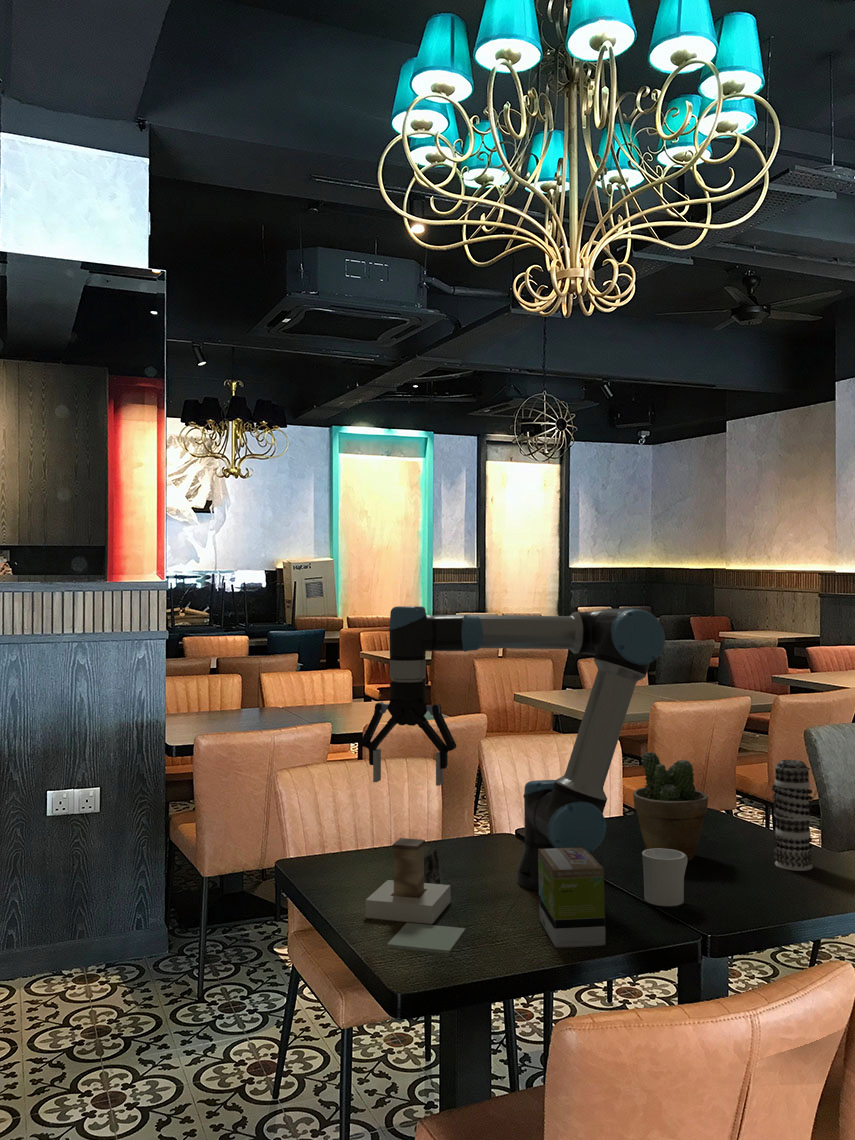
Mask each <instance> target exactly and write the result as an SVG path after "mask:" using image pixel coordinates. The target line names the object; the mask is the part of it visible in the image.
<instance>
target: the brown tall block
mask: <svg viewBox="0 0 855 1140" xmlns="http://www.w3.org/2000/svg"><path fill="white" fill-rule="evenodd" d="M391 844H392V845H391V846H392V847H391V848H392V849H393V880H394V896H400V897H411V898H420V897H421V896H422V895H423V894H424V846H425V844H426V840H425V839H417V838H404V837H400V838H399V839H398V840H396V841H395V842H394V843H391Z"/></svg>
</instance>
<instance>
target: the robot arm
mask: <svg viewBox="0 0 855 1140" xmlns="http://www.w3.org/2000/svg"><path fill="white" fill-rule="evenodd" d="M389 612H390V614H389V627H388V630H389V632H388V633H389V679H391V681H390V682H389V703H384V701H380V702H377V703H375V704H374V710H373V711H374V713H373V714H372V717H371V720H370V721H369V724H368V725H367V728H366V730H365V733H364V734H363V737H362V738H361V740H360V742H359V743H360V744H359V745H360V746H361V747H364V748H366V749H367V750H368V764H369V766H372V767H373V768H372V773H373V774H372V776H373V777H372V781H373V783H377V782H380V781H381V780H382V749H381V748H378V747H379V746H380V745H381V744H382V743H383V741H384V739H385V738H386V737H387V736H388V735H389V733H390V732H391V731H392V730H393V729H394V727H395V726H396V725H397V724H398V725H399V726H406V725H407V726H410V727H414V726H416V725H417V726H418V727H419V728H420V729H421V731H422V732H424V734H425V735H426V736H427V738H428V739H429V740H430V741H431V743H432V744H433V745H434V747H435V748H436V749H437V751H438V752H436V753H435V786H442V785H443V784H444V770H445V769H447V768H448V755H449V754H448V753H449V752H450V751H451V752H452V751H453V750H455V749H456V748H457V743H456V741H455V739H454V737H453V735H452V732H451V730H450V729H449V727H448V724H447V722H446V720H445V718H444V715H443V714H442V706H441V704H440V703H435V704H430V705H429V704H427V700H426V697H427V692H426V691H427V684H426V682H425V680H424V679H425V678H426V676H427V675H426V674H427V673H426V672H427V671H426V667H427V666H426V664H427V663H426V657H427V656H426V652H470V651H478V650H479V649H507V650H508V649H511V650H512V649H513V650H514V649H516V650H519V649H521V650H525V649H526V650H529V649H530V650H569V651H571V653H573V654H577V655H579V654H581V655H590V656H594V659H593V662H594V664H595V666H596V668H597V671H596V675H595V678H594V681H593V684H592V686H591V687H592V688H591V690H590V693H589V694H590V695H589V697H588V700H587V703H586V707H585V710H584V713H583V716H582V718H581V719H582V720H581V723H580V726H579V728H578V732H577V735H576V738H575V741H574V745H573V748H572V751H571V753H570V757H569V759H568V764H567V767H566V770H565V773H564V774H563V775H562V776H561V777H559V778H557V779H541V780H531V781H528V782H526V783H525V785H524V794H523V796H522V797H523V801H524V804H523V806H524V808H523V809H524V810H523V811H524V814H523V815H524V820H523V821H524V849H523V852H522V855H521V858H520V862H519V865H518V868H517V870H516V871H517V872H516V873H517V874H516V876H517V878H516V880H517V883H518V884H519V885H520V886H522V887H524V888H527V889H530V890H534V891H538V892H539V875H538V849H552V848H572V847H585V849H586V850H587V851H588V852H589V853H590V854H591V853H593V852H594V851H595V850H596V849H597V848H598V847H600V846H601V844H602V842H603V840H604V838H605V836H606V833H607V821H606V818H605V816H604V812H605V807H606V804H607V803H608V802H607V801H608V797H607V795H606V793H605V791H604V786H605V782H606V779H607V776H608V774H609V770H610V766H611V764H612V761H613V758H614V756H615V752H616V749H617V745H618V741H619V739H620V735H621V733H622V730H623V729H622V728H623V725H624V722H625V720H626V716H627V713H628V710H629V707H630V704H631V700H632V696H633V694H634V692H635V688H636V685H637V683H638V682H639V681H641V680H643V679H645V678H646V677H647V675H648V674H647V673H648V671H649V668H650V664H651V663H653V662H654V661H655V660H656V659H658V658H659V656H660V655H661V654H662V652H663V650H664V648H665V643H666V642H665V641H666V635H665V631H664V630H665V629H664V628H663V626H662V624H661V621H660V620H659V618H657V617H656V616H655V615H654V614H653V613H651V612H649V611H647V610H643V609H639V608H636V607H627V608H618V607H617V608H616V607H615V608H606V609H599V610H594V611H574V612H572V613H571V614H570V615H566V616H565V615H506V614H503V615H502V614H501V615H499V614H494V615H493V614H492V615H490V614H444V613H436V614H433V615H427V612H426V608H425V607H424V606H415V605H414V606H409V605H408V606H407V605H406V606H405V605H404V606H394V607H392V608H391V610H390V611H389ZM386 712H389V714H390V715H391V717H390V718H389V720H388V721H387V722H386V724H385V725H384V726H383V727H382V729H381V730H380V731H379V733H378V734H376V736H375V737H374V738H373V736H374V734H375V732H376V730H377V728H378V726H379V724H380V721H381V719H382V717H383V715H384V714H385V713H386ZM428 712H429V713H430V715H431V716H433V720H434V722H435V724H436V726H437V729H438V730H439V733H440V735H441V736H440V735H439V734H438V733H437V732H436V731H435V729H434V728H433V726H432V725H431V724H430V722H429V720H428V719H427V718H426V717H425V715H426V714H427V713H428ZM441 737H442V738H441ZM372 739H373V740H372Z"/></svg>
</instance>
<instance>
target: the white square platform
mask: <svg viewBox="0 0 855 1140" xmlns="http://www.w3.org/2000/svg"><path fill="white" fill-rule="evenodd" d="M451 895H452V894H451V884H443V883H442V884H430V883H424V894H423V895H422V896H421V897H420V898H411V897H400V896H394V879H392V880H391V879H387V880H386V881H385V882H384V883H383V884H381V886H379V887H378V888H377V889H376V890H375V891H374V892H373V893H372V894H370V895H369V896H368V897H367V898H366V899H365V919H374V920H375V919H376V920H377V919H378V920H385V921H386V920H387V921H395V922H406V923H415V924H426V925H433V924H434V923H435V922H436V920H438V918H439V917H440V915H441V914H442V913H443V912H444V911H445V909H446V908H447V907H448V906H449V904H451V898H452V897H451Z"/></svg>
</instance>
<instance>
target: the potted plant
mask: <svg viewBox="0 0 855 1140" xmlns="http://www.w3.org/2000/svg"><path fill="white" fill-rule="evenodd" d="M641 758H642V759H641V763H642V767H643V768H644V774H645V779H644V780H645V784H646V785H644V787H640V788H637V789H636V790H634V791H633V792H632V798H633V808H634V810H635V812H636V814H637V818H638V822H639V823H638V824H639V827H640V833H641V836H642V840H643V843H644V846H645V850H647V849H654V848H662V849H672V850H677V851H680V852H682V853H684V854H685V855H687V858H688V862H690V861H691V860H693V859H694V858H695V855H696V851H697V847H698V844H699V841H700V838H701V833H702V828H703V825H704V824H703V823H704V818H705V816H706V814H707V812H708V804H709V802H708V801H709V795H708V794H707V793H705V792H703V791H700V790H696V786H695V784H694V782H695V780H694V777H695V773H694V772H693V771H694V770H695V769H694V766H693V764H692V763H691V762H690V761H689V760H688V759H679V760H677V761H676V762H674V763H673V765H671V766H669V768H668V769H666V766H665V765H664V764H662V763H661V762H660V757H659V756H658V755H657V753H656V752H651V751H649V752H645V753H644V754H643V755H642V756H641Z"/></svg>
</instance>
